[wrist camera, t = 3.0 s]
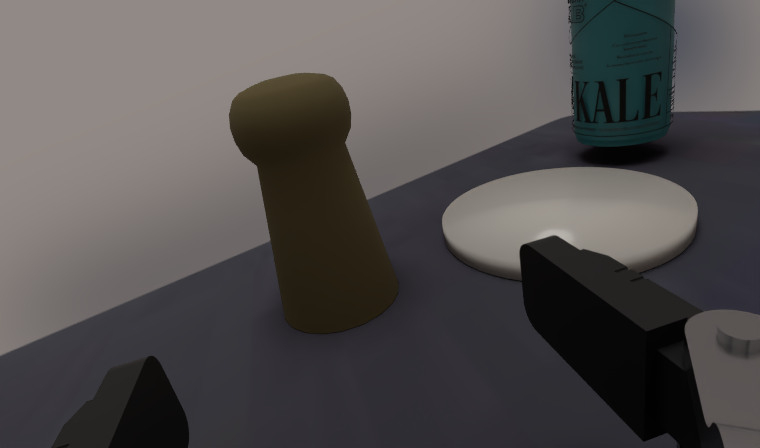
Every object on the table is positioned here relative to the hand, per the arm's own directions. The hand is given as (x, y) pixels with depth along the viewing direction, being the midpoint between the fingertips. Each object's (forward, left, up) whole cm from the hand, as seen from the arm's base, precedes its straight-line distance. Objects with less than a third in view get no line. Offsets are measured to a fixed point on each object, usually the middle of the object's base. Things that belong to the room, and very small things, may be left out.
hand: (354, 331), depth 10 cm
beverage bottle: (+23, +20, -6) cm, 31 cm away
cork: (0, +12, -6) cm, 14 cm away
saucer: (+13, +13, -6) cm, 19 cm away
